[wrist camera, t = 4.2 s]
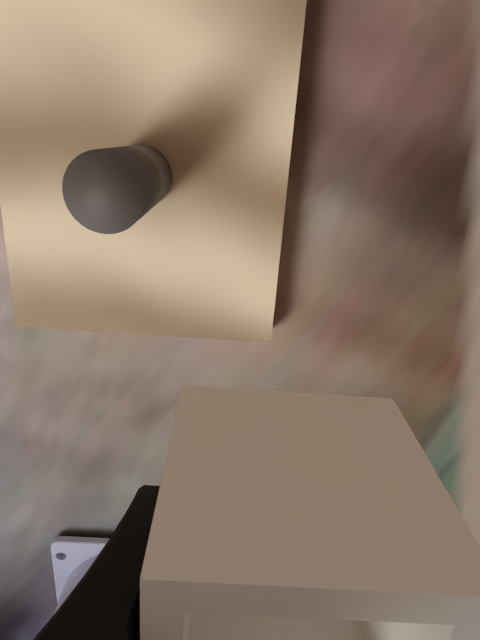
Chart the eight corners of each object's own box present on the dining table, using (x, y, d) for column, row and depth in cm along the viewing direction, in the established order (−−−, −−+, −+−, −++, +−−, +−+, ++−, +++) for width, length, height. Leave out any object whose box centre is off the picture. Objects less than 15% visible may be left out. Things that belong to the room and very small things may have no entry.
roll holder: (268, 329, 19) (282, 413, 13) (29, 315, 19) (-62, 394, 13) (303, -11, 15) (347, -104, 9) (-12, -38, 14) (-177, -153, 9)
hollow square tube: (355, 551, 13) (423, 791, 8) (176, 541, 13) (141, 781, 8) (392, 398, 11) (509, 598, 6) (182, 384, 11) (139, 578, 6)
